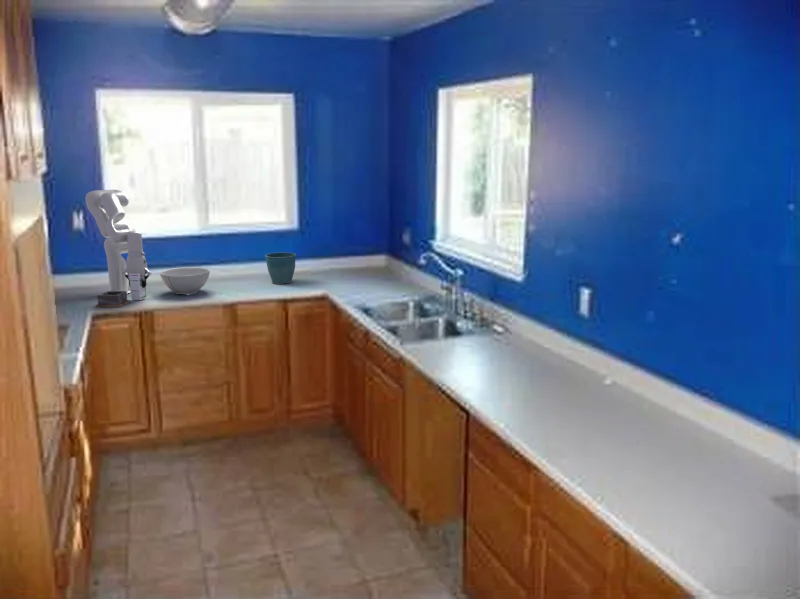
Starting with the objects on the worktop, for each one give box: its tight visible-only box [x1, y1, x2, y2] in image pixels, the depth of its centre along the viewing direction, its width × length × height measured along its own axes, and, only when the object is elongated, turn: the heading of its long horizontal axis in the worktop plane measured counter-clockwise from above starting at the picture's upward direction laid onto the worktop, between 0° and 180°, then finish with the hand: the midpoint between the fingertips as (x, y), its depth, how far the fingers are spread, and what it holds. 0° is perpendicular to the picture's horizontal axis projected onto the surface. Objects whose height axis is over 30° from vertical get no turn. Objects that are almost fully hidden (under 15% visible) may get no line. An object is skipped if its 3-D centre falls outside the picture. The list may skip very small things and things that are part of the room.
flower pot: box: [264, 251, 297, 285], centre depth 432 cm, size 18×18×17 cm
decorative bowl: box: [159, 266, 211, 295], centre depth 404 cm, size 27×27×12 cm
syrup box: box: [129, 273, 147, 301], centre depth 387 cm, size 6×6×14 cm
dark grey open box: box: [95, 290, 131, 309], centre depth 377 cm, size 13×13×6 cm
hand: (137, 286), depth 387 cm, fingers closed on syrup box, 6 cm apart
